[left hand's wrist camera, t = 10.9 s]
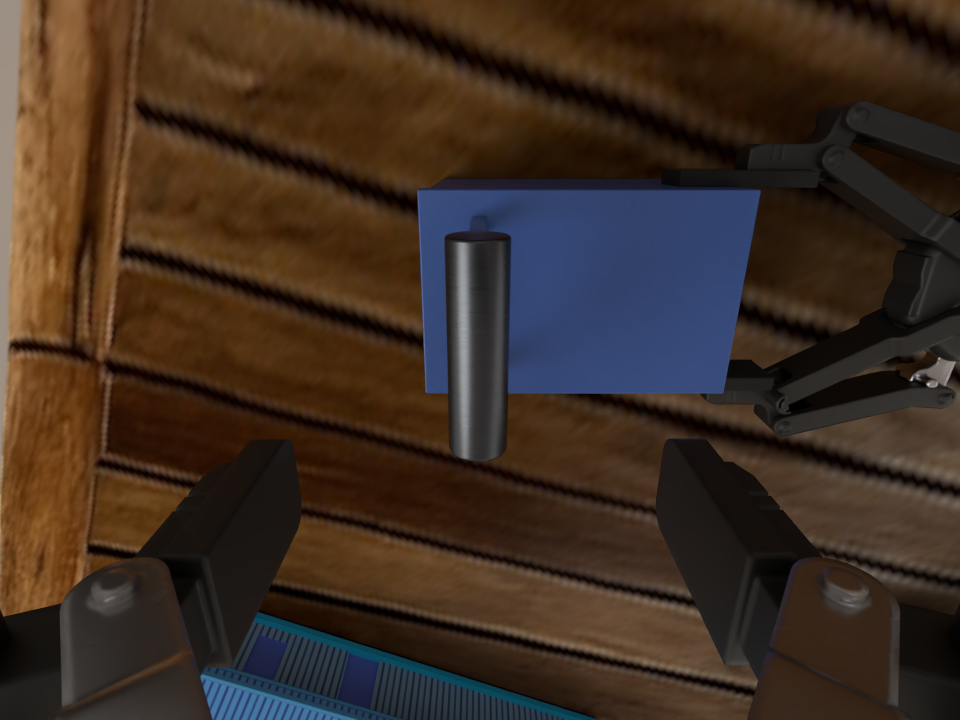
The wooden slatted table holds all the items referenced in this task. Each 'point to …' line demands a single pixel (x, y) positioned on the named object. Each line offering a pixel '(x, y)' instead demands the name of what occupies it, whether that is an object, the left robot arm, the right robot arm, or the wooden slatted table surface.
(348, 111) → the wooden slatted table surface
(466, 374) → the lid
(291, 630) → the model building
